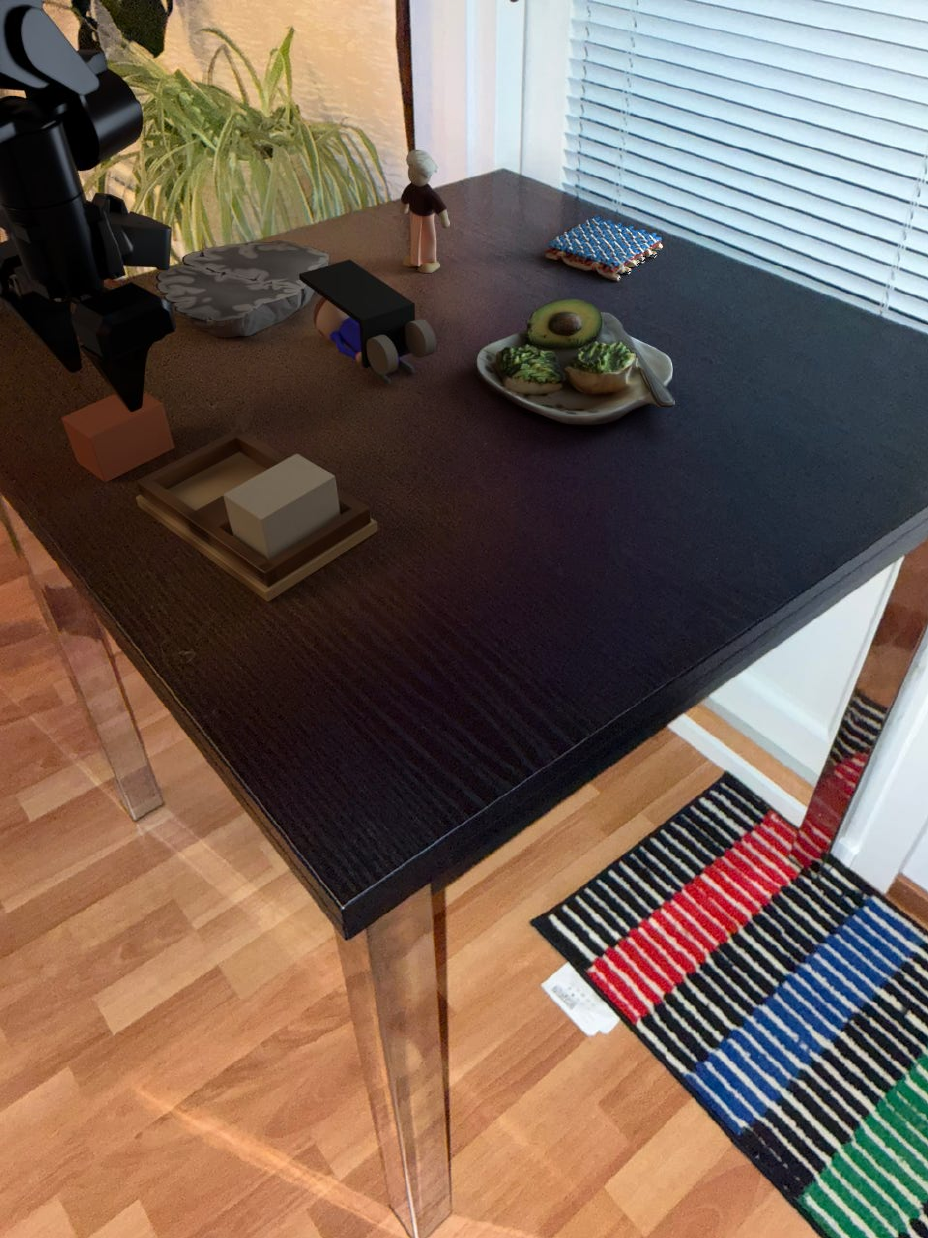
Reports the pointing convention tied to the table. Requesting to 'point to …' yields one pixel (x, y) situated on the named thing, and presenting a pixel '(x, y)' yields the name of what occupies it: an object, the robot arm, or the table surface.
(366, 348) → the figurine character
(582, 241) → the woven mat
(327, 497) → the cream block
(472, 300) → the table surface
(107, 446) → the orange rectangular block
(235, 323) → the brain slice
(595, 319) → the salad plate
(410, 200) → the grandmother figurine
